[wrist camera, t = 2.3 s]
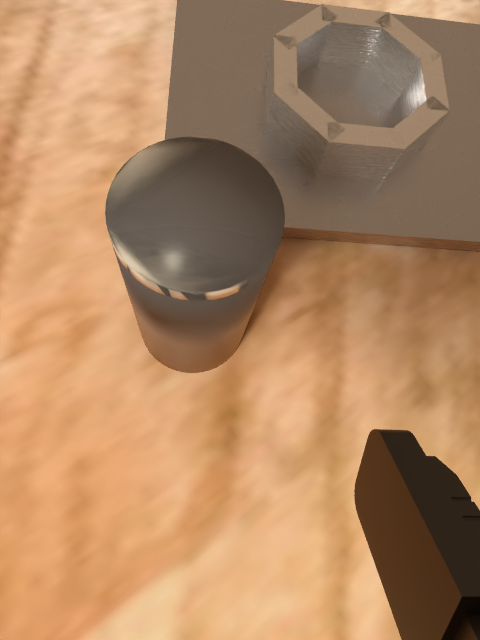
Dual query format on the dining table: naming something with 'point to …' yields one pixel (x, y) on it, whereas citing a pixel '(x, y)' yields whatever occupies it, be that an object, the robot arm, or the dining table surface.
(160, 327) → the metal cylinder
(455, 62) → the octagonal socket base
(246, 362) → the dining table surface
